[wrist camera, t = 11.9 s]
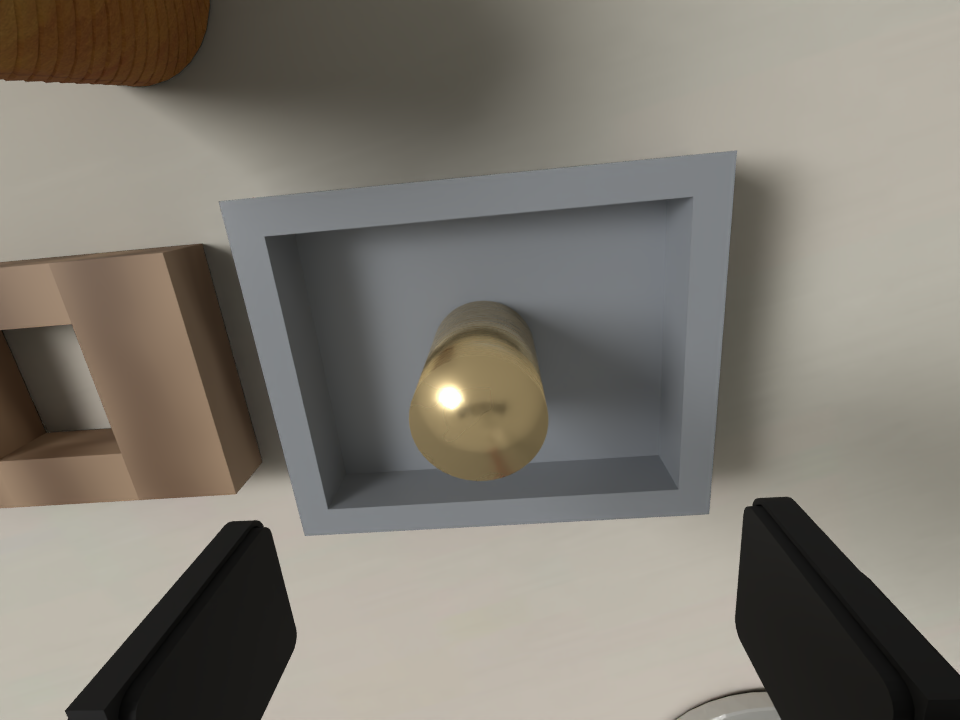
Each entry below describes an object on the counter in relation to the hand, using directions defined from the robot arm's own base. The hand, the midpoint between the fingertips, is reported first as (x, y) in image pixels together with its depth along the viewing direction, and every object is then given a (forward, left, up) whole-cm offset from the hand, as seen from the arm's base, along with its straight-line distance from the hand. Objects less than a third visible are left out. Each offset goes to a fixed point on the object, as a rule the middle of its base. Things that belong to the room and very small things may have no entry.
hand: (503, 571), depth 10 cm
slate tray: (0, -1, -12) cm, 12 cm away
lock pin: (+1, -1, -11) cm, 11 cm away
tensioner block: (+18, -1, -12) cm, 22 cm away
